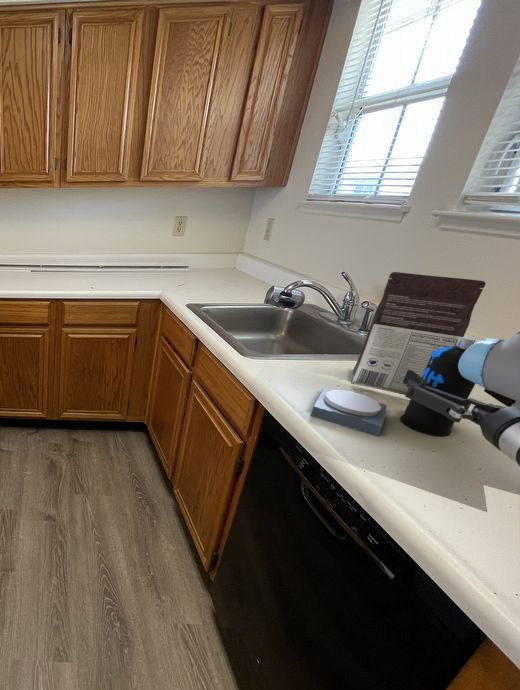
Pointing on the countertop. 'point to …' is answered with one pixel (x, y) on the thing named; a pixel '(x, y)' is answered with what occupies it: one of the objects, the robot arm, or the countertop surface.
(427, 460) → the countertop surface
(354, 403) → the kitchen scale
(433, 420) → the aerosol can
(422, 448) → the countertop surface
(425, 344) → the protein powder
